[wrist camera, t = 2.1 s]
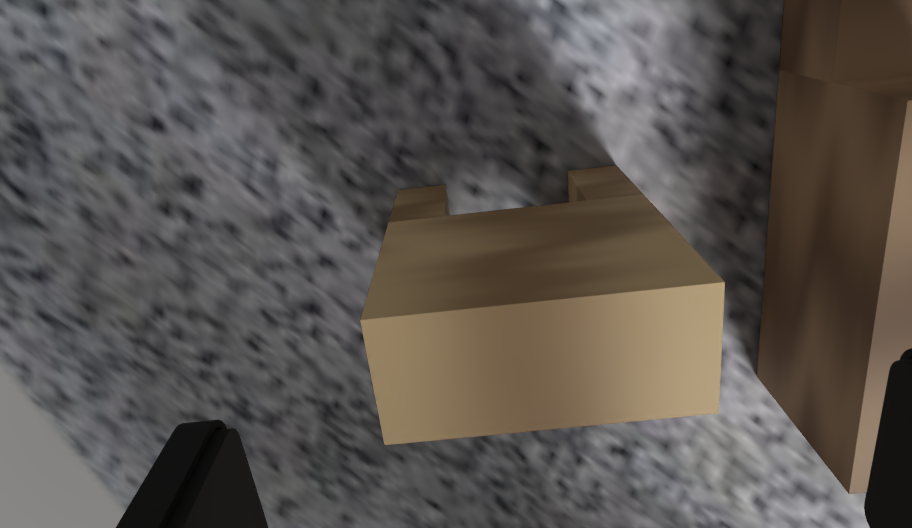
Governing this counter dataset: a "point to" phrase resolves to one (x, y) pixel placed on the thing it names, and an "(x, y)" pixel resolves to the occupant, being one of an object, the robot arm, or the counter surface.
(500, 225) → the wooden u-shaped arch
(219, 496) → the robot arm
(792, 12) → the notched wooden beam
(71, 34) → the counter surface
